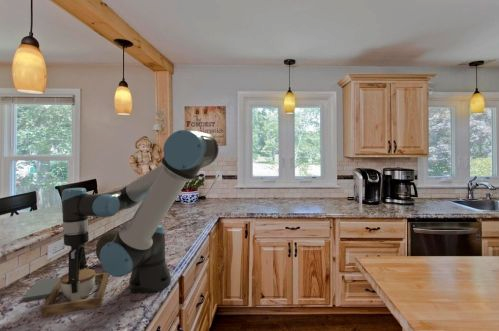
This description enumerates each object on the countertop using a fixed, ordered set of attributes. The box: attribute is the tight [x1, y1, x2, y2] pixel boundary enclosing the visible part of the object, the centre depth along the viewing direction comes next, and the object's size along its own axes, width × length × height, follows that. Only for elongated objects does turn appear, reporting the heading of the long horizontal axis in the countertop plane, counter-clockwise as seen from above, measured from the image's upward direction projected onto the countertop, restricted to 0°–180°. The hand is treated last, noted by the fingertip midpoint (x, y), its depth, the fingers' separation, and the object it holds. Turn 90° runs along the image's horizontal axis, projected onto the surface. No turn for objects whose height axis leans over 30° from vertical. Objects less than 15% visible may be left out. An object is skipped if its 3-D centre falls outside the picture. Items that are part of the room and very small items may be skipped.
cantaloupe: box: [95, 230, 119, 263], centre depth 133 cm, size 14×14×15 cm
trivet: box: [22, 276, 65, 302], centre depth 110 cm, size 15×15×1 cm
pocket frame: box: [40, 271, 109, 318], centre depth 103 cm, size 16×22×3 cm
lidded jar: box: [60, 268, 96, 301], centre depth 103 cm, size 11×11×9 cm
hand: (79, 293), depth 103 cm, fingers closed on lidded jar, 11 cm apart
